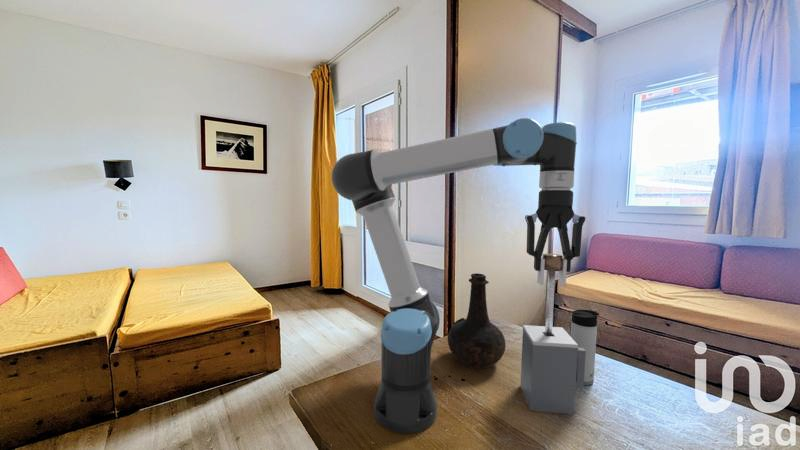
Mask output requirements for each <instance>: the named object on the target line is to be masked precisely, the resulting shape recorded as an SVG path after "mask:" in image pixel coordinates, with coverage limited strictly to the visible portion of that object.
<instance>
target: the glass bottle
mask: <svg viewBox="0 0 800 450" xmlns="http://www.w3.org/2000/svg"><path fill="white" fill-rule="evenodd" d="M470 276H471V277H470V278H468V282H469V283H471V284H470V296H469V297H470V298H469V306H468V312H467V316H466V318H465V317H461V318H459V319H457V320H456V321H454V322H453V323H452V326H451V327H450V329H449V331H448V334H447V345H448V347H449V350H450V351H451V354H452V355H453V356H454V358H455V359H456V360H457V361H458V362H460V363H461V364H462V365H464V366H466V367H470V368H473V369H487V368H490V367H492V366H494V365H496V364H498V362H499V361H500V360H501V359H502V358H503V356H504V354H505V351H506V346H507V345H506V339H505V336H504V334H503V332H502V331H501V329H500V328H499V327H498V326H496V325H495V324H494V323H492V322H491V320H490V319H489V313H488V307H487V306H488V304H487V290H486V289H487V288H486V287H487V286H486V285H487V284H489V283H490V282H489V281H488V280H487V276H486V275H485V274H483V273H479V272H478V273H475V272H474V273H472V274H470Z"/></svg>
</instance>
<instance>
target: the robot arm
mask: <svg viewBox="0 0 800 450" xmlns="http://www.w3.org/2000/svg"><path fill="white" fill-rule="evenodd" d="M577 144H578V142H577V127H576V125H575V124H574V123H572V122H567V121H563V122H561V121H560V122H550V123H547V124H544V125H543V126H541V125H540V124H539V123H538V122H537V121H536V120H534V119H532V118H528V117H524V118H523V117H522V118H517V119H515V120H513V121H512V122H510V123H509V124H508V125H504V126H499V127H495V128H489V129H485V130H480V131H475V132H472V133H471V132H469V133H467V134H461V135H457V136H451V137H447V138H443V139H438V140H435V141H434V140H433V141H429V142H424V143H420V144H419V143H418V144H416V145H412V146H407V147H402V148H396V149H392V150H388V151H383V152H382V151H381V152H380V151H379V150H377V149H371V150H366V151H361V152H355V153H350V154H346V155H344V156H342V157H341V158H339V159H338V160H337V161H336V163H334V165H333V168H332V170H331V183H332V186H333V189H335V191H336V192H337V194H339V196H341V197H343V199H346V200H348V201H349V200H350V201H351V202H352V204H353V208H354V210H355V213H356V214H359V215H360V216H362V217H363V220H364V223H365V225H366V228H367V232H368V233H369V237H370V241H371V243H372V246H373V248H374V251H375V254H376V256H377V260H378V262H379V265H380V269H381V271H382V275H383V276H384V281H385V284H386V285H387V288H388V291H389V294H390V296H391V297H390V300H389V302H388V304H387V305H388V308H389V311H390V312H389V313H388V314H387V315H386V316H385V317H384V318H383V320H382V323H381V329H380V338H381V339H380V340H381V381H380V383H379V387H378V389H377V392H376V395H375V399H374V403H373V415H374V418H375V420H376V422H377V423H378V424H379V425H380V426H382V427H383V428H385V429H386V430H388V431H390V432H393V433H397V434H404V435H405V434H409V435H410V434H417V433H419V432H423V431H425V430H427V429H428V428H430V427H431V426H432V425H433V424H434V423H435V421H436V419H437V416H438V404H437V399H436V396H435V392H434V389H433V386H432V383H431V382H432V381H431V353H432V347H433V344H434V341H435V339H436V336H437V333H438V331H439V327H440V322H441V321H440V312H439V309H438V306H437V305H436V303H434V301H432V300H431V297H430V295H429V290H427V289H425V288H424V287H422V286H421V285H420V281H419V278H418V277H417V274H416V271H415V268H414V266H413V265H414V264H413V262H412V259H411V255H410V253H409V251H408V250H409V249H408V248H407V245H406V243H405V239H404V236H403V233H402V230H401V227H400V224H399V222H398V219H397V216H396V213H395V210H394V208H393V206H394V203H395V200H396V197H395V193H394V191H393V188H392V186H393V185H395V184H396V185H397V184H400V183H401V184H402V183H406V182H411V181H417V180H421V179H427V178H433V177H437V176H442V175H443V176H444V175H447V174H451V173H452V174H453V173H458V172H462V171H463V172H464V171H468V170H473V169H479V168H483V167H489V166H499V167H500V166H501V167H506V166H507V167H508V166H509V167H510V166H512V167H513V166H539V181H538V187H539V189H541V190H539V191H538V201H537V202H538V204H537V209H536V210H535V213H532V214H529V215H528V214H526V215H525V216H524V220H525V222H526V253H527V254H528V255H529V256H531V257H533V269H534V271H536V272H537V275H536V276H537V280H536V281H537V283H538V284H539V285H540V286H544V285H545V284H544V283H545V270H544V266H545V259H544V258H543V254H544V250H545V248H546V243H547V240H548V236H549V233H550V231H551V229H554V228H556V229H557V232H558V235H559V240H560V246H561V251H562V256H563V257H562V271H558V282H557V283H558V284H559V285H561V286H562V287H566V285H567V284H566V283H567V282H566V281H567V273H570V271H571V266H572V265H571V264H572V260H573V259H574V258H579V257H580V256H581V249H582V248H581V246H582V236H583V235H582V234H583V233H582V232H583V226H584V224H585V221H586V218H587V217H585V216H582V215H578V214H576V213H575V212H574V210H573V205H574V192H573V190H571V189H573V188H574V186H575V165H576V164H575V163H576V162H575V161H576V149H577ZM537 219H538V220H539V221H540V223H541V225H540V232H539V234H538V235H539V236H538V238H537V242H536V245H535V238H536V236H535V234H536V225H535V223H536V222H537ZM571 220H572V223H573V224H572V233H571V234H572V235H571V242H570V238H569V234H568V232H569V229H568V223H569V222H570V221H571ZM570 243H571V244H570Z"/></svg>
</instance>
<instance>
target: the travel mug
mask: <svg viewBox="0 0 800 450" xmlns="http://www.w3.org/2000/svg"><path fill="white" fill-rule="evenodd" d="M598 316H599V317H600V313H599V312H598V311H596V310H589V309H575V310H573V311H572V312H571V320H570V321H571V322H570V336H571V338H572V339H573V340H574V341H575V342H576V343H577V344H578V348H584V350H585V351H586V355H585V371H584V386H590V385H593V384H594V380H595V379H594V378H595V362H596V347H597V333H598V332H597V331H598V330H597V329H598Z"/></svg>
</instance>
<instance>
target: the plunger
mask: <svg viewBox="0 0 800 450" xmlns="http://www.w3.org/2000/svg"><path fill="white" fill-rule="evenodd" d="M542 258H544V259H545V266H544V271H547V289H546V309H545V325H544V326H545V336H552V327H554V326H553V323H554V307H555V306H554V304H555V302H554V301H555V284H556V272H559V271H562V258H564V257H563V254H557V253H556V254H555V253H543V254H542Z"/></svg>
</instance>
